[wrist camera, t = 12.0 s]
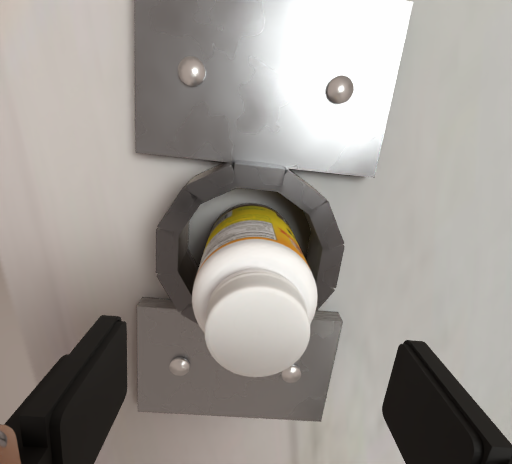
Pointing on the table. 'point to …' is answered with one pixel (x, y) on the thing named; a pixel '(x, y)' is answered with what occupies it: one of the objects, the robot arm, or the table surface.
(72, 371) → the robot arm
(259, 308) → the supplement bottle
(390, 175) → the table surface
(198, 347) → the ring mounting bracket
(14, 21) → the table surface
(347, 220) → the table surface
